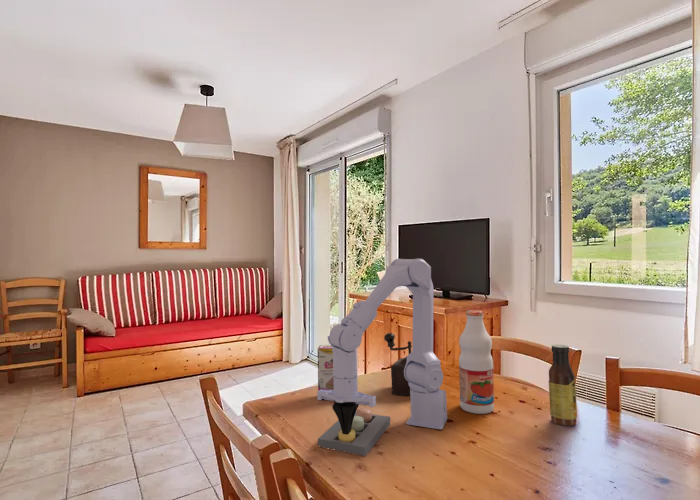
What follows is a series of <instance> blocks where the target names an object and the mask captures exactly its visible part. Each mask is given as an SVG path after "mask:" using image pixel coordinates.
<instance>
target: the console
mask: <svg viewBox="0 0 700 500" xmlns="http://www.w3.org/2000/svg"><path fill="white" fill-rule="evenodd" d="M355 416H357V411H356V413H355ZM390 425H391V416H387V415H380V414H373V413H372V421H371V422H369V423H364V430H363V431H361V432H355V440H354V441H353V443H351V442H345V441H339V431H340V430H342V429H341V426H340V422H339V420H337V421H336V422H334V424H333V425H331V427H329V428H328V429H327V430H326V431H324V432H323V434H322V435H320V437H318V439H317V447H318V446H320V447H325V448H329V449H328V450H330V449H335V450H339V451H338V452H340V451H345V452H350V453H355V454H354V455H356V454H359V455H358V456H361V455H364V456H363V457H366V456H367V455H368V454H369V452H371V450H372V449H373V447H374V446H375V445H376V443H377V442H378V441H379V440H380V438H381V437H382V435H383V434H384V433H385V432H386V431H387V429H388V428H389V427H390ZM335 450H334V451H335ZM345 452H344V453H345ZM350 453H349V454H350ZM367 453H368V454H367Z"/></svg>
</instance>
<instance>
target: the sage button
mask: <svg viewBox="0 0 700 500" xmlns="http://www.w3.org/2000/svg"><path fill="white" fill-rule="evenodd" d="M351 429H352V430H354V431H355V432H360V433H362V431H363V430H364V418H363V417H361V416H354V419H353V423H352V428H351Z"/></svg>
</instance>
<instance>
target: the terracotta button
mask: <svg viewBox="0 0 700 500" xmlns="http://www.w3.org/2000/svg"><path fill="white" fill-rule="evenodd" d="M356 412H357V416H361V417H363V418H364V423H369V422H371V421H372V414H373V411H372V409H370V408H368V407H362V408H357V410H356Z"/></svg>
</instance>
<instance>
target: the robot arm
mask: <svg viewBox="0 0 700 500" xmlns="http://www.w3.org/2000/svg"><path fill="white" fill-rule="evenodd" d="M400 287H406V289H408V291H410V292H411V293H412V347H411V353H410V354H409V353H408V355H406V357H407V362H406V365H405V368H404V377H405V379H406V380H407V381H408V382H409V386H410V397H409V398H410V401H409V402H410V416H409V418H408V419H407V421H406V423H405V424H406V425H408V426H414V427H415V426H416V427H420V428H421V427H422V428H428V429H436V430H443V429H444V426H445V425H446V423H447V420H448V407H447V406H448V404H447V403H448V402H447V391H446V390H445V389H440V388H441V387H442V385H443V381H444V373H443V370H442V368H441V367H442V366H441V365H442V364H441V360H440V359H439V358H438V356H437V355H436V354H435V353H434V295H435V294H434V293H435V292H434V290H435V289H434V288H435V287H434V283H433V281H432V266H431V265H430V264H429V263H428V262H426V261H425V260H424V259H423V258H414V259H413V258H411V259H410V258H409V259H408V258H407V259H406V258H396V259H393V261H392V262H391V263H390V265H389V266H387V267H386V269H385V273H384V275H383V276H382V277H381V279H380V280H379V282H378V283H377V285H376V286H375V287H374V289H373V290H372V291H371V293H370V294H369V296H368V297H367V298H366V299H365V300H359V301H358V302H355V303H353V304H352V307H353V308H352V309H351V310H350V311H349V313H348V314H347V315H346V316H345V317H344V318H341V321H340V324H339V323H338V324H335V325H334V326H333V327H332V328H331V329H330V332H329V335H328V336H327V341H328V344H329V345H331V346H332V351H333V379H334V390H322V389H321V390H319V391H318V390H317V392H316V397H317V398H316V399H317V400H318V401H325V400H326V401H334V403H333V405H332V410H333V412H334V414H335V415H336V417H337V419H338V420H339V422H340V426H341V429H342V433H343V434H346V435H348V434H349V433H350V432H351V428H352V423H353V419H354V416H355V413H356V412H357V410H358V409H359V406H361V405H363V406H368V407H369V408H374V407H375V406H376V405H377V396H376V395H370V394H367V393H364V392H360V391H358V389H359V388H358V386H359V385H358V357H357V356H358V355H357V354H358V351H357V349H358V348H359V347H360V346H361V344H362V341H363V340H362V338H363V336H364V333H365V332H366V330H367V329H369V326H370V325H371V324H372V323H373V321H374V320H375V319H376V318H377V316H378V311H377V309H378V308H379V307H380V306H381V305H382V304H383V303H384V302H385V301H386V299H387V298H388V297H390V295H391V294H392V293H393V292H394V291H395V289H397V288H400ZM322 399H324V400H322ZM338 420H337V421H338Z"/></svg>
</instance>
